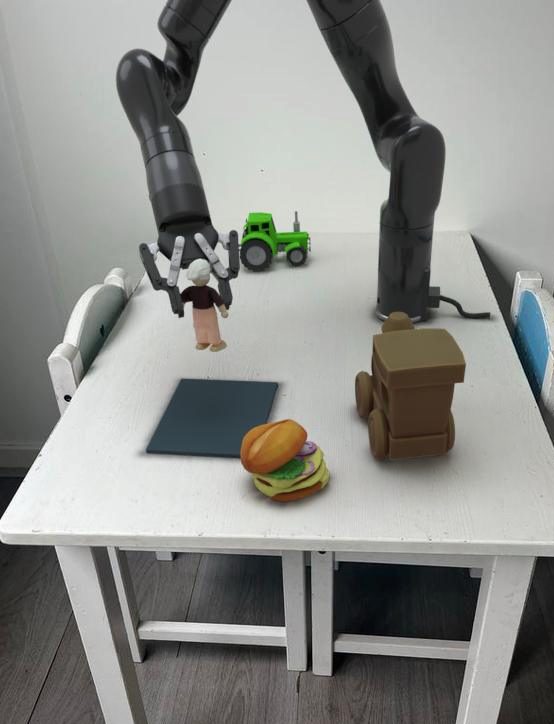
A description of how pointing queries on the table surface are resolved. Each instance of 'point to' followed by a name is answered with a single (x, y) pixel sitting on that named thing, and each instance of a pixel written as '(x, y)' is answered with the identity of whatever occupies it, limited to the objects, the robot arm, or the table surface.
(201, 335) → the grandmother figurine
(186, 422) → the mat
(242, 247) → the toy tractor
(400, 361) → the wooden toy train
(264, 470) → the cheeseburger
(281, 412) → the table surface
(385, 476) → the table surface
